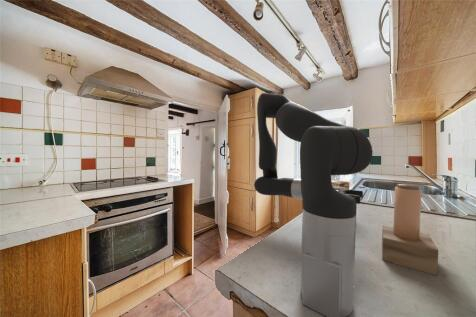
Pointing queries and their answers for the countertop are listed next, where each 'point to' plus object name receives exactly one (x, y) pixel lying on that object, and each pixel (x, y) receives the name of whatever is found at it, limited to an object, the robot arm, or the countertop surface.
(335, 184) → the candy box
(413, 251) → the pedestal
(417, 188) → the canister
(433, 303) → the countertop surface
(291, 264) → the countertop surface
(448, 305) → the countertop surface
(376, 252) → the countertop surface
